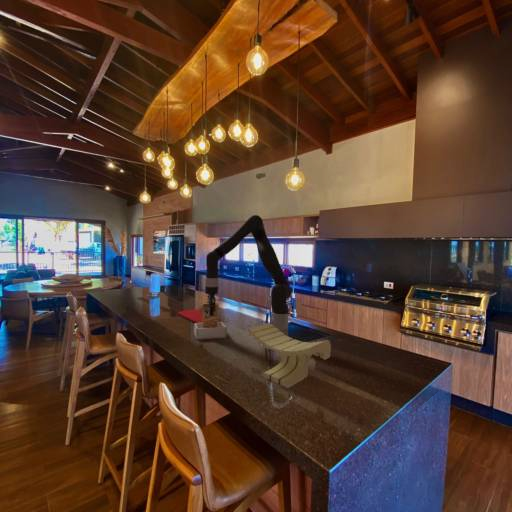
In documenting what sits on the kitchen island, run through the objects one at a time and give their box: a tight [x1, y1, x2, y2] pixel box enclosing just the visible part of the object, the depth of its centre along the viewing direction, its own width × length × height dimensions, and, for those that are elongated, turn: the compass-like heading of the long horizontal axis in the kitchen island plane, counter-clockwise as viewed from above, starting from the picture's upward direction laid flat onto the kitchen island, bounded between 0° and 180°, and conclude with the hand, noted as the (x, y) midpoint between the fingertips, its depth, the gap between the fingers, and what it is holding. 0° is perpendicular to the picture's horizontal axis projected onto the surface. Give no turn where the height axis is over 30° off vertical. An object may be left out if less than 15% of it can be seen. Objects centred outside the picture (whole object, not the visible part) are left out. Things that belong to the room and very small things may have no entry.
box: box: [193, 321, 228, 341], centre depth 161 cm, size 12×17×6 cm
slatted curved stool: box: [248, 323, 332, 389], centre depth 114 cm, size 30×16×18 cm, turn 47°
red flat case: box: [176, 309, 225, 324], centre depth 196 cm, size 16×41×4 cm, turn 40°
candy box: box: [202, 302, 220, 328], centre depth 161 cm, size 9×4×15 cm, turn 92°
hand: (210, 314), depth 161 cm, fingers closed on candy box, 5 cm apart
